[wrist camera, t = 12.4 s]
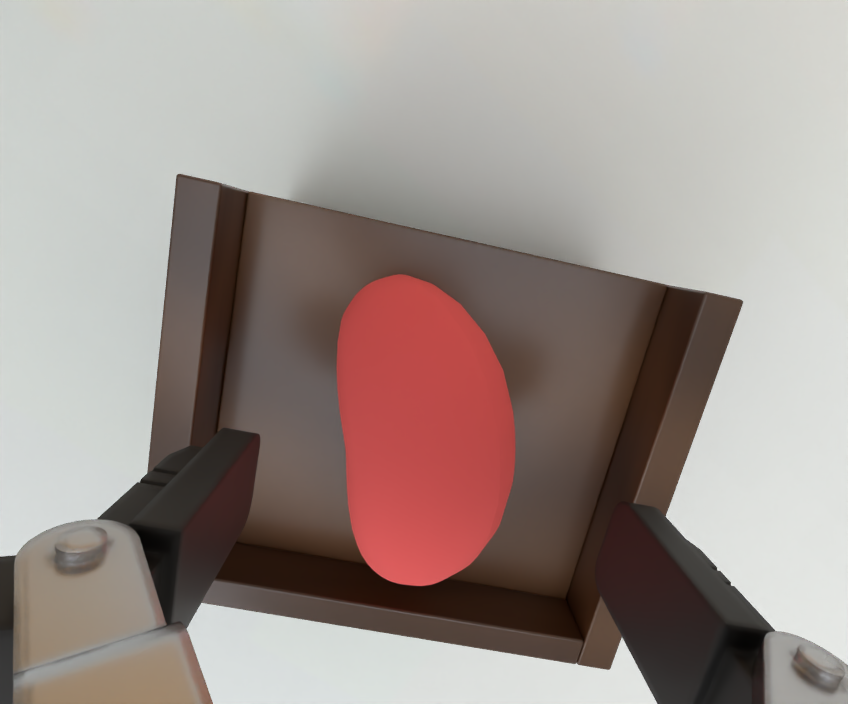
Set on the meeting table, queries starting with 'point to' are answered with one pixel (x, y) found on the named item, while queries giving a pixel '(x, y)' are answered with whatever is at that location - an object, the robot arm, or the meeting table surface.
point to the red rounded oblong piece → (421, 430)
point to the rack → (527, 385)
